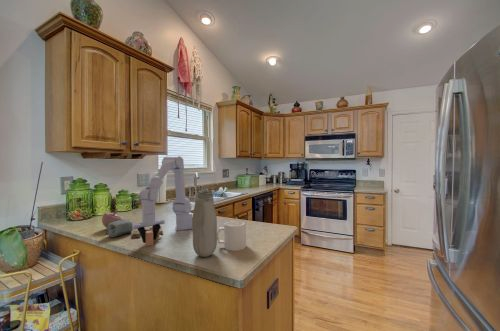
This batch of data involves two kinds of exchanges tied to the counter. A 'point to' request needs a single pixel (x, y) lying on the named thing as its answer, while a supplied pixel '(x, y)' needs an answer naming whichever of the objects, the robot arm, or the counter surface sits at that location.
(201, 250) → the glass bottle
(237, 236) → the mug
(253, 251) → the counter surface
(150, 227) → the bobbin
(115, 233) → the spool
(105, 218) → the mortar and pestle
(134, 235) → the notched board
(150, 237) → the salmon pink cuboid
